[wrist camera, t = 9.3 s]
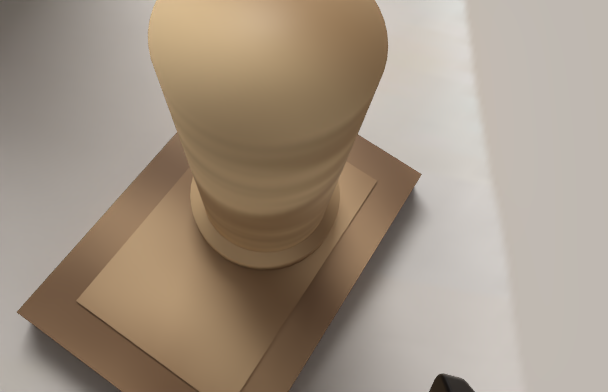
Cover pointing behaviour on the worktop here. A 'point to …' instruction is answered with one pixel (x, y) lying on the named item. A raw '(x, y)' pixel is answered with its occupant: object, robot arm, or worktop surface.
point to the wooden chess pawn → (267, 114)
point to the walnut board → (208, 285)
